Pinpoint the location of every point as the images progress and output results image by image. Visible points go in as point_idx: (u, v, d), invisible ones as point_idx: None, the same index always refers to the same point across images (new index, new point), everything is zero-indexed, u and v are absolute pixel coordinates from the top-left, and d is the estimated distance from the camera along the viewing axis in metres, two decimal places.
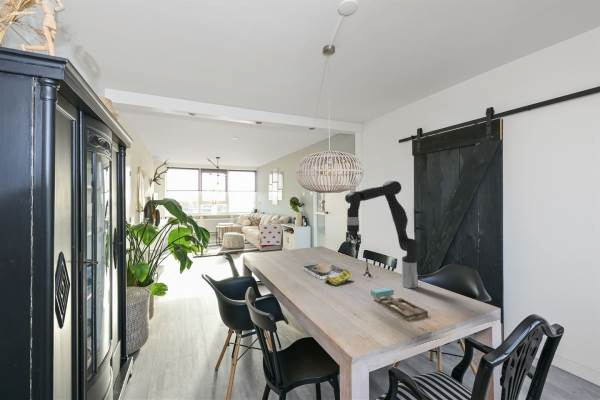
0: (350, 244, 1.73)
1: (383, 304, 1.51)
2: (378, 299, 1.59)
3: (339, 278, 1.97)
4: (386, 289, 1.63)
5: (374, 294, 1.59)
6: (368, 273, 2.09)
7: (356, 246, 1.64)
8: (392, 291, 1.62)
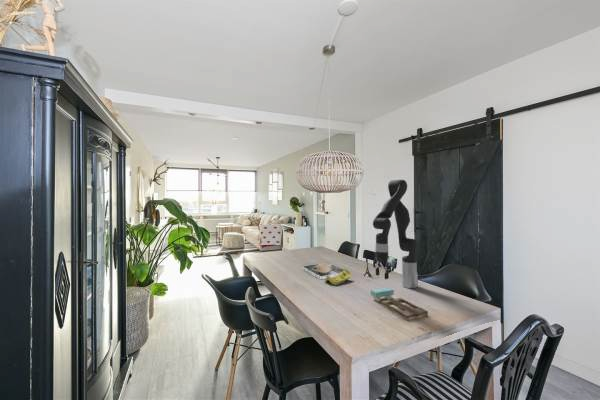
0: (378, 271, 1.66)
1: (383, 304, 1.51)
2: (378, 299, 1.59)
3: (339, 278, 1.97)
4: (386, 289, 1.63)
5: (374, 294, 1.59)
6: (368, 273, 2.09)
7: (386, 274, 1.58)
8: (392, 291, 1.62)
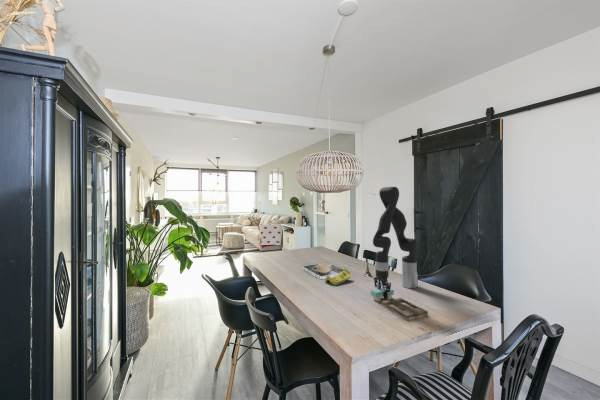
0: None
1: (383, 304, 1.51)
2: (378, 299, 1.59)
3: (339, 278, 1.97)
4: None
5: (374, 294, 1.59)
6: (369, 273, 2.10)
7: (384, 294, 1.59)
8: (392, 291, 1.62)
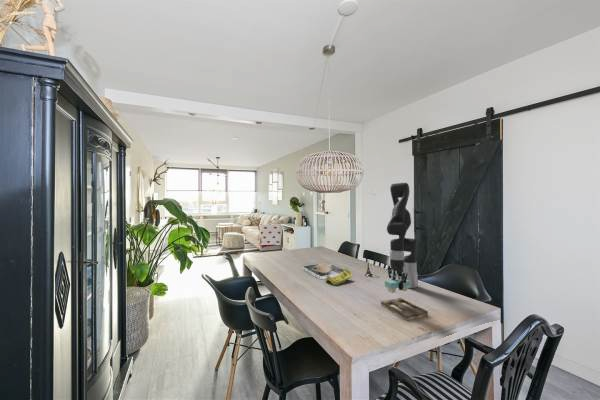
0: None
1: (383, 304, 1.51)
2: (393, 290, 1.47)
3: (339, 278, 1.97)
4: None
5: (389, 285, 1.47)
6: (369, 273, 2.10)
7: (400, 285, 1.47)
8: (408, 282, 1.50)
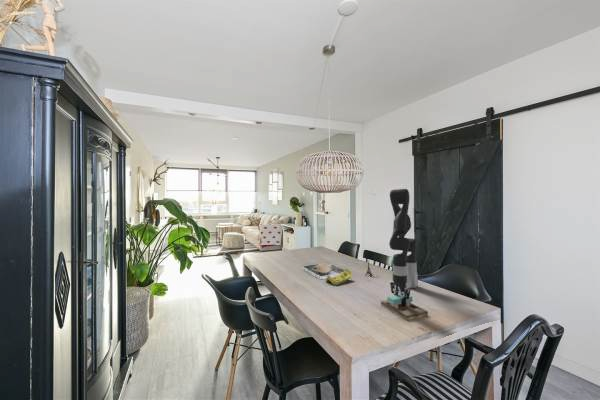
0: None
1: (383, 304, 1.51)
2: (396, 307, 1.45)
3: (340, 278, 1.97)
4: None
5: (391, 301, 1.45)
6: (369, 273, 2.10)
7: (403, 301, 1.45)
8: (411, 298, 1.47)
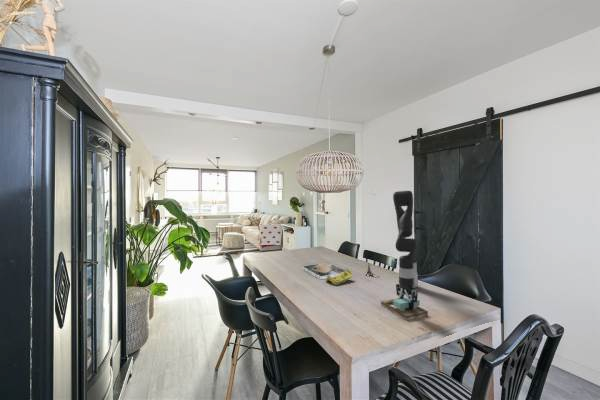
0: None
1: (383, 304, 1.51)
2: None
3: (340, 278, 1.97)
4: (411, 299, 1.44)
5: (398, 305, 1.40)
6: (370, 273, 2.10)
7: (411, 304, 1.39)
8: (418, 301, 1.43)
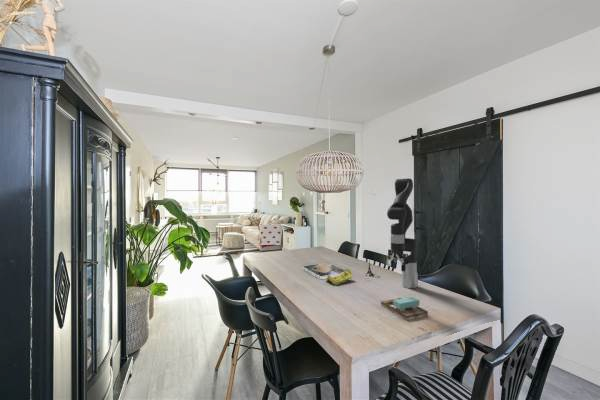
0: (393, 263, 1.60)
1: (383, 304, 1.51)
2: None
3: (340, 278, 1.97)
4: (411, 299, 1.44)
5: (398, 305, 1.40)
6: (370, 272, 2.11)
7: (403, 266, 1.51)
8: (418, 301, 1.43)
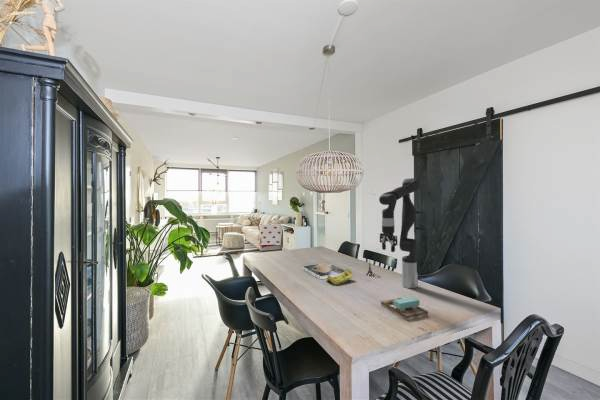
0: (384, 245, 1.73)
1: (383, 304, 1.51)
2: None
3: (341, 278, 1.97)
4: (411, 299, 1.44)
5: (398, 305, 1.40)
6: (371, 272, 2.11)
7: (392, 247, 1.64)
8: (418, 301, 1.43)
